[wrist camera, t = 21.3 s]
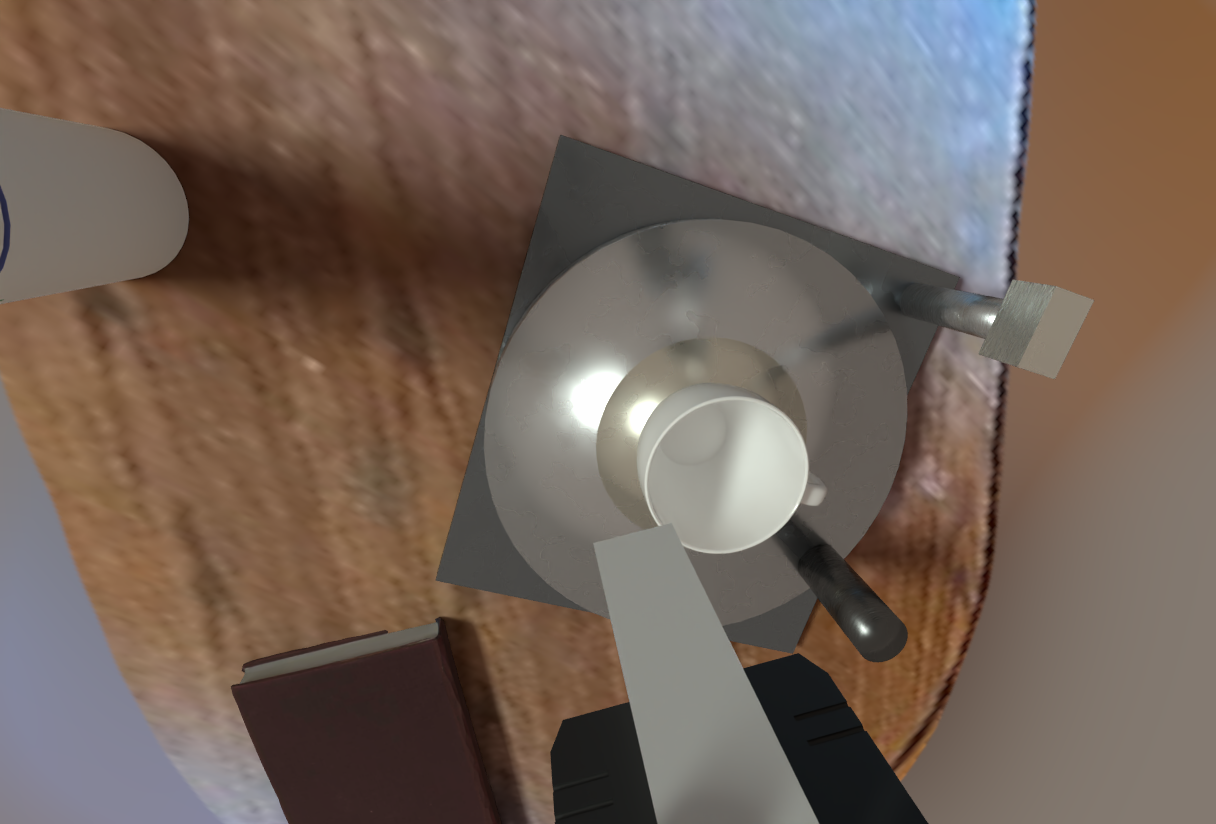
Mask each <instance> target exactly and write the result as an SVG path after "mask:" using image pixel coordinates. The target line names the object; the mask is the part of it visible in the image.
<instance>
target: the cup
mask: <svg viewBox="0 0 1216 824" xmlns="http://www.w3.org/2000/svg"><path fill="white" fill-rule="evenodd" d="M636 464H637V474H638V479H639V483H640V487H641V490H642V493H643V496H644V499H645V501H646V503H647V506H648V508H649V510H650V512H651V514H652V516H653V518H654V520H655V521H656V523H657V524H658V526H661V525H665V524H669V523H672V525H673V527H674V529H675V531H676V533H677V535H678V537H679V539H680V541H681V543H682V545H683V546H684V547H686V548H689V549H692V550H695V551H698V552H703V553H710V554H726V553H734V552H738V551H742V550H746V549H749V548H751V547H754V546H756V545H758V544H760V543H762V542H764V541H765V540H767V539H768V538H770V537H771V536H773V535H774V534H775V533H777V532H778V531H779V530H780V529H781V528H782V527H783V526H784V525H785V524H786V523H787V522H788V521H789V520H790V518H791V517H792V516H793V514H794V513H795V511H796V510H797V508H798V506H799V505H800V504H804V505H809V506H818V505H820V504H821V503H822V502H823V501H824V499H825V496H826V494H827V487H826V485H825V484H824V482H823V481H822V480H821V479H820V478H819V477H817V476H816V475H815V474H813V473H812V472H810V471H809V457H808V451H807V447H806V444H805V441H804V439H803V436H802V434H801V433H800V431H799V429H798V428H797V426H796V425H795V424H794V422H793V421H792V420H791V419H790V418H789V417H788V416H787V415H786V414H785V413H784V412H782V411H781V410H780V409H779V408H777V407H776V406H775V405H773V404H772V403H771V402H769V401H768V400H766V399H765V398H763V397H762V396H760V395H758V394H757V393H755V392H753V391H750V390H748V389H745V388H743V387H739V386H735V385H730V384H725V383H698V384H694V385H690V386H687V387H684V388H682V389H679V390H677V391H675V392H674V393H672V394H670V395H669V396H667V397H666V398H665V399H664V400H662V401H661V402H660V403H659V404H658V405H657V406H656V407H655V409H654V410H653V411H652V412H651V414H650V415H649V417H648V418H647V420H646V422H645V424H644V426H643V428H642V431H641V434H640V437H639V441H638V446H637V456H636Z"/></svg>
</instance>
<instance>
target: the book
mask: <svg viewBox="0 0 1216 824" xmlns="http://www.w3.org/2000/svg"><path fill="white" fill-rule="evenodd" d="M435 620H436V623H432V624H428V625H423V626H419V627H415V628H410V629H406V630H401V631H397V632H393V633H389V634H387V633H388V631H386V630H384V631H379V632H375V633H370V634H366V635H362V636H356V637H351V638H346V639H342V640H338V641H333V642H328V643H323V644H320V645H316V646H312V647H309V648H303V649H298V650H292V651H289V652H285V653H280V654H276V655H272V656H269V657H265V658H261V659H257V660H253V661H250V662H248V663H245V664H243V668H242V671H243V672H245V675H244V677H243V679H242V681H241V682H240V684H236V685H232V686H231V689H232V693H233V696H234V698H235V701H236V703H237V705H238V707H239V710H240V712H241V715H242V718H243V720H244V723H245V725H246V728H247V730H248V733H249V735H250V737H251V739H252V742H253V744H254V746H255V749H256V751H257V753H258V756H259V758H260V760H261V763H262V765H263V767H264V769H265V771H266V774H267V776H268V778H269V780H270V782H271V784H272V787H273V789H274V791H275V793H276V795H277V797H278V799H279V802H280V805H281V808H282V810H283V812H284V814H285V817H286V819H287V821H288V823H289V824H502V823H501V820H500V816H499V813H498V810H497V807H496V803H495V800H494V796H493V792H492V789H491V787H490V784H489V781H488V778H487V774H486V771H485V767H484V764H483V761H482V758H481V754H480V750H479V747H478V743H477V740H476V736H475V733H474V730H473V726H472V723H471V719H470V715H469V712H468V709H467V706H466V702H465V699H464V695H463V692H462V688H461V685H460V682H459V678H458V674H457V669H456V666H455V663H454V659H453V656H452V652H451V648H450V643H449V639H448V635H447V631H446V627H445V623H444V621H443V620H442V619H441V618H440V617H439V618H437V619H435Z"/></svg>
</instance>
